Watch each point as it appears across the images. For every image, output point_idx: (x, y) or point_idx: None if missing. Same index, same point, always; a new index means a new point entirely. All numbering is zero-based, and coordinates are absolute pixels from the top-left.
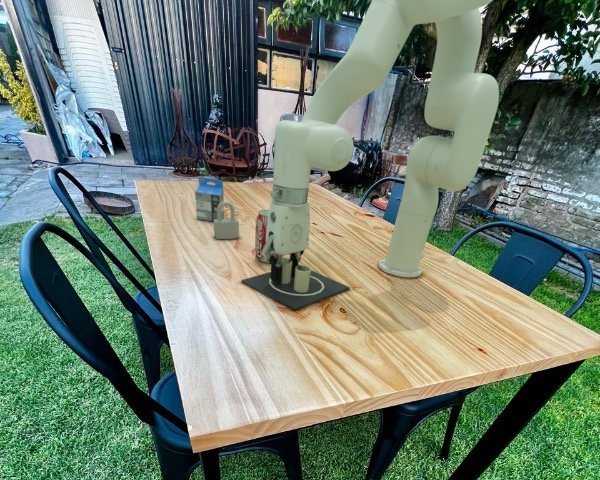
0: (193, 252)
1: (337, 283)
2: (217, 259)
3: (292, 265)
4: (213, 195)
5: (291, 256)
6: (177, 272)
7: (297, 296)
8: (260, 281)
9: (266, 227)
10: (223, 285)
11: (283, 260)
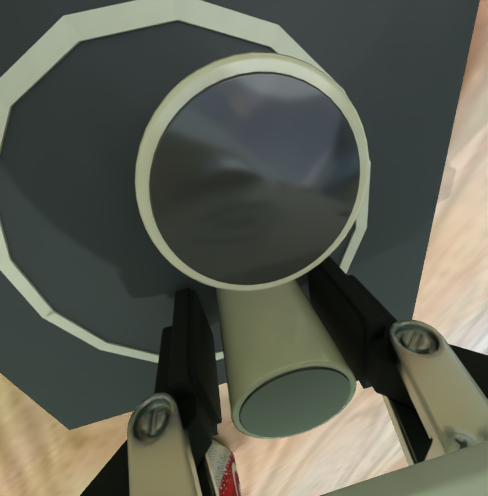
0: (359, 470)
1: None
2: (337, 447)
3: (204, 370)
4: None
5: (201, 455)
6: None
7: (323, 42)
8: None
9: None
10: (468, 309)
11: (311, 402)
